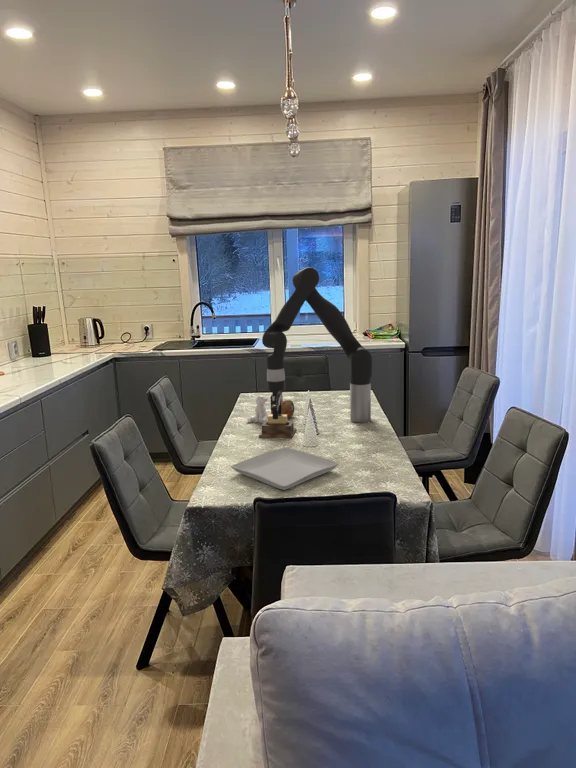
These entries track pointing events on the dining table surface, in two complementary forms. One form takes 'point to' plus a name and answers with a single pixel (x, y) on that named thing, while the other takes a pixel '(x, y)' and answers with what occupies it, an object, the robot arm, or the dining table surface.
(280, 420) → the tan wooden block
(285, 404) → the tin
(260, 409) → the sitting furry creature
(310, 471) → the square plate
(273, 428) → the slotted block
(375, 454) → the dining table surface
